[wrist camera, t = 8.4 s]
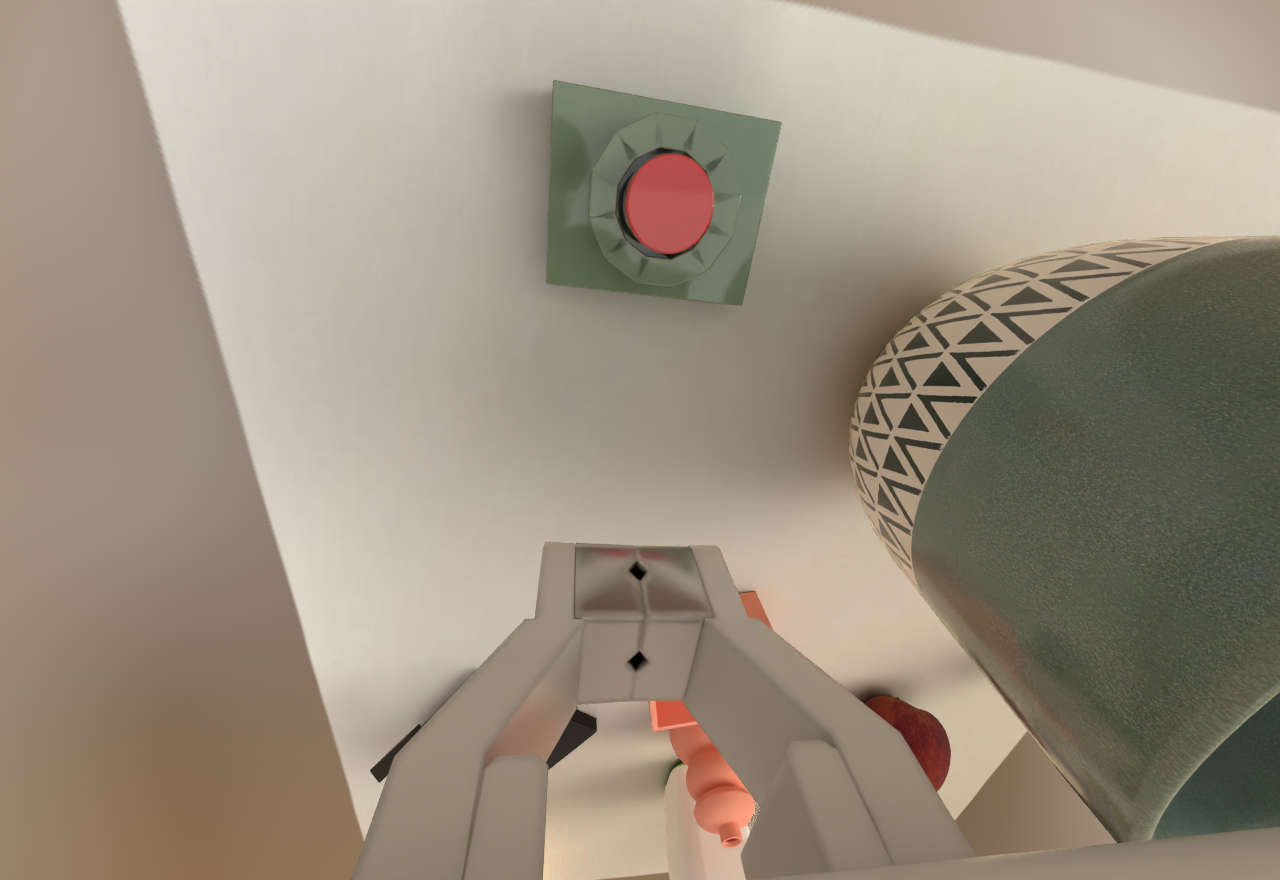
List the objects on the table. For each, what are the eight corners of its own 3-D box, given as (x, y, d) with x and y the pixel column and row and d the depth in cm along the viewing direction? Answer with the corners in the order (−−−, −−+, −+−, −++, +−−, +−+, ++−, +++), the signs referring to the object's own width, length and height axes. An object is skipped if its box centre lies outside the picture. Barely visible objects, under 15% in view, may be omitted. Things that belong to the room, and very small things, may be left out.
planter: (1145, 224, 26) (2617, 258, 7) (1006, 506, 35) (1508, 854, 16) (824, 207, 24) (1783, 189, 5) (762, 515, 33) (1014, 938, 14)
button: (618, 245, 20) (621, 248, 19) (627, 151, 19) (632, 145, 17) (696, 255, 21) (705, 259, 19) (711, 165, 19) (722, 160, 18)
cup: (653, 794, 48) (680, 1015, 35) (666, 753, 45) (702, 979, 32) (718, 791, 49) (768, 1003, 36) (735, 751, 46) (797, 967, 33)
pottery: (637, 608, 35) (656, 738, 27) (755, 591, 36) (810, 712, 27) (652, 741, 44) (670, 874, 35) (748, 725, 44) (789, 851, 36)
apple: (833, 694, 44) (882, 788, 36) (911, 666, 43) (976, 756, 36) (845, 733, 47) (893, 826, 40) (918, 708, 46) (978, 798, 39)
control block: (549, 278, 24) (543, 289, 20) (555, 92, 20) (550, 66, 17) (729, 299, 25) (753, 313, 22) (764, 129, 22) (799, 114, 18)
